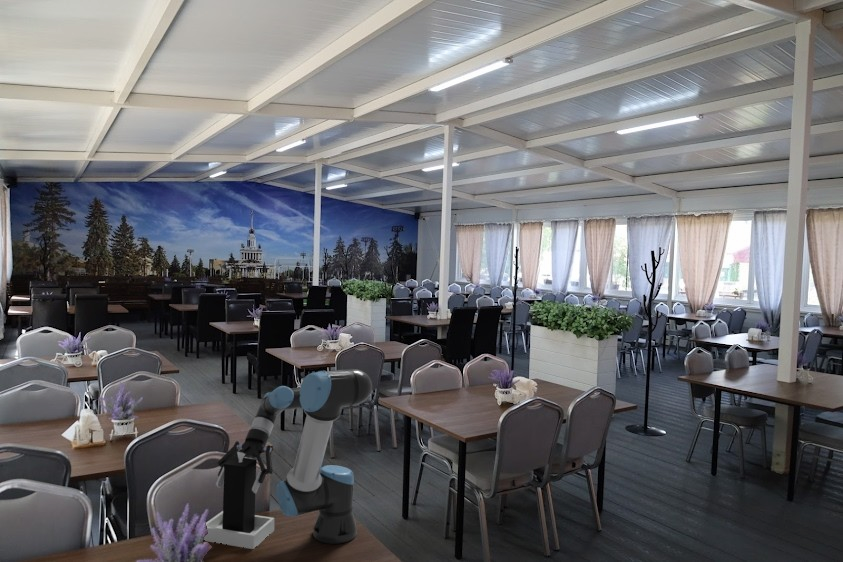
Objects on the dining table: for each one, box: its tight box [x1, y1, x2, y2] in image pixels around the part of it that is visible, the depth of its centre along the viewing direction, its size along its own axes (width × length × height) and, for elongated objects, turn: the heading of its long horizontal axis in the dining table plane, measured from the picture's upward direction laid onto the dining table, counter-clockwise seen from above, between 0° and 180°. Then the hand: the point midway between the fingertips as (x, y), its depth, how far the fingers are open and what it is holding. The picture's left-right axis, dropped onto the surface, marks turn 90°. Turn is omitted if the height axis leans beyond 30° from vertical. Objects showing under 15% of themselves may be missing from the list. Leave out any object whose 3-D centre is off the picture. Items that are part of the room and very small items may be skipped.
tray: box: [204, 510, 276, 550], centre depth 203 cm, size 20×14×4 cm
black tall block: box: [222, 452, 258, 533], centre depth 202 cm, size 8×8×28 cm
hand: (235, 489), depth 201 cm, fingers open, 13 cm apart
